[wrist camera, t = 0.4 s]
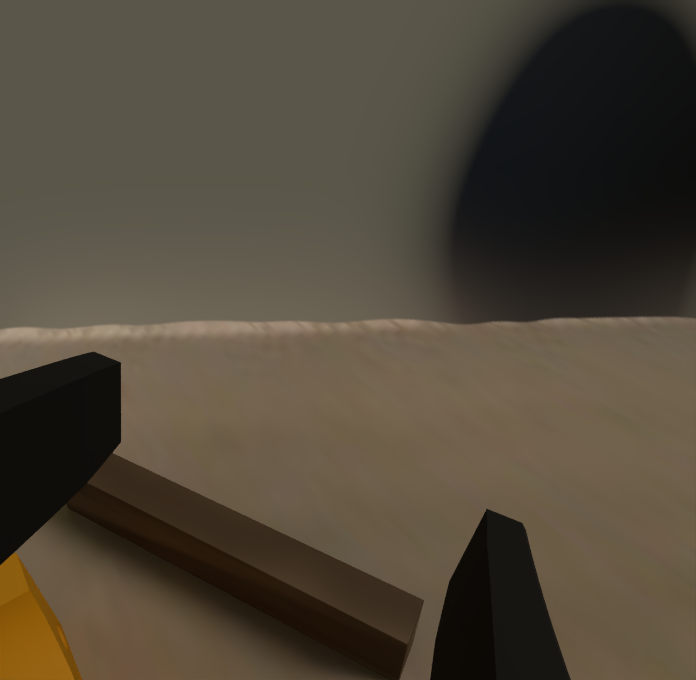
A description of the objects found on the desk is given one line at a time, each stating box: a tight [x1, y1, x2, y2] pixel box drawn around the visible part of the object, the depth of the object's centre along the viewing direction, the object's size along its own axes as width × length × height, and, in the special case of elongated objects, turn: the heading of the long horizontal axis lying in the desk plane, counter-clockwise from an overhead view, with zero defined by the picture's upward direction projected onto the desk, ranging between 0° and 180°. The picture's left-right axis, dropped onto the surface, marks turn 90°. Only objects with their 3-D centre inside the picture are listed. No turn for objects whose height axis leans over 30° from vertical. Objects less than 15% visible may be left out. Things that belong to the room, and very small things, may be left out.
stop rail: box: [66, 453, 424, 680], centre depth 27 cm, size 2×20×4 cm, turn 64°
